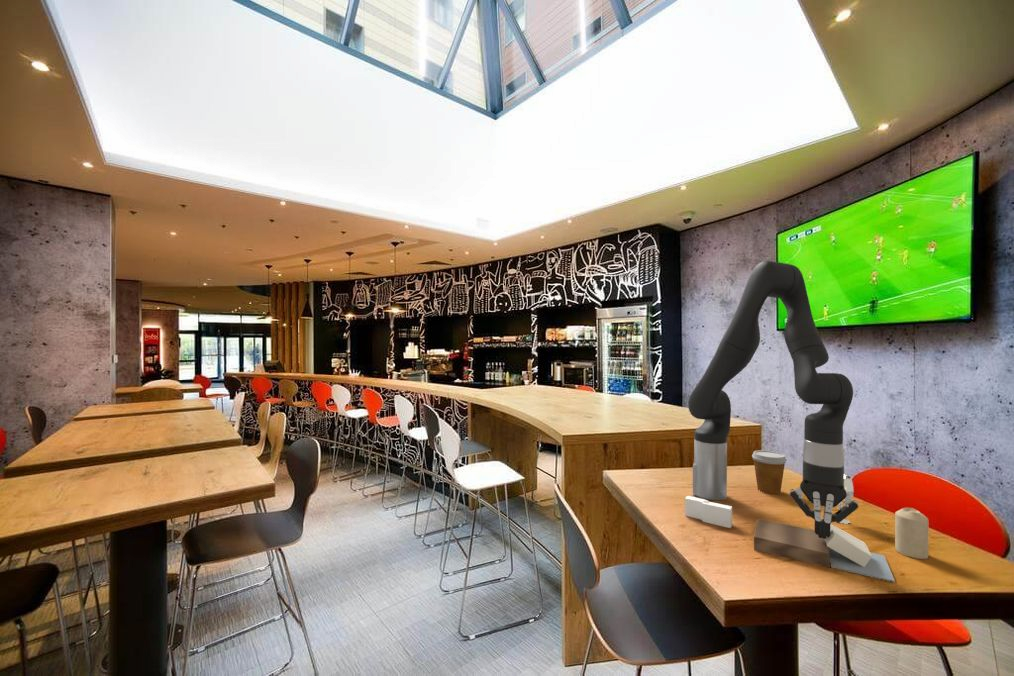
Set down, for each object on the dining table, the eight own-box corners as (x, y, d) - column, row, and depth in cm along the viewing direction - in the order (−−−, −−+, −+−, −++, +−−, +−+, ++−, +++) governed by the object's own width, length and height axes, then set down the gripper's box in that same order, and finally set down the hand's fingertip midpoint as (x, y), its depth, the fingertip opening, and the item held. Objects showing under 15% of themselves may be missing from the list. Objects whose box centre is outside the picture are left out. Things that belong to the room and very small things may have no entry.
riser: (754, 549, 98) (754, 536, 98) (757, 530, 108) (757, 518, 108) (829, 567, 90) (829, 553, 90) (825, 545, 100) (826, 532, 100)
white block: (827, 546, 93) (834, 535, 93) (822, 533, 99) (829, 523, 99) (864, 567, 90) (872, 556, 89) (857, 553, 96) (864, 542, 95)
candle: (932, 562, 93) (932, 516, 93) (898, 555, 96) (898, 511, 96) (924, 551, 98) (924, 508, 98) (892, 545, 101) (892, 503, 101)
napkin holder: (746, 530, 109) (746, 508, 109) (709, 535, 106) (709, 513, 106) (704, 508, 124) (704, 488, 124) (671, 512, 121) (671, 492, 121)
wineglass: (858, 525, 111) (858, 480, 111) (833, 523, 112) (833, 478, 112) (845, 516, 116) (845, 473, 116) (822, 515, 118) (822, 472, 118)
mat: (831, 567, 91) (831, 565, 91) (827, 544, 101) (827, 543, 101) (894, 582, 85) (894, 580, 85) (884, 557, 95) (884, 555, 95)
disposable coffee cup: (786, 489, 138) (786, 452, 138) (786, 498, 130) (786, 459, 130) (752, 483, 143) (752, 448, 143) (751, 492, 135) (751, 455, 135)
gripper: (787, 459, 96) (787, 535, 96) (863, 470, 89) (862, 552, 89) (788, 452, 103) (787, 523, 103) (858, 461, 95) (858, 538, 95)
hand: (822, 537), depth 96 cm, fingers closed
